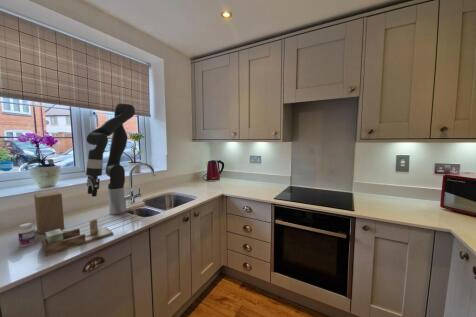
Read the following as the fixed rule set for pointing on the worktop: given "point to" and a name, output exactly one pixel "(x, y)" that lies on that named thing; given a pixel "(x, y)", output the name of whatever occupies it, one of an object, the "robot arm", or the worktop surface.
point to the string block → (58, 235)
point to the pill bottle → (26, 235)
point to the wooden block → (49, 211)
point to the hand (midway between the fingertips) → (91, 195)
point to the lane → (73, 240)
